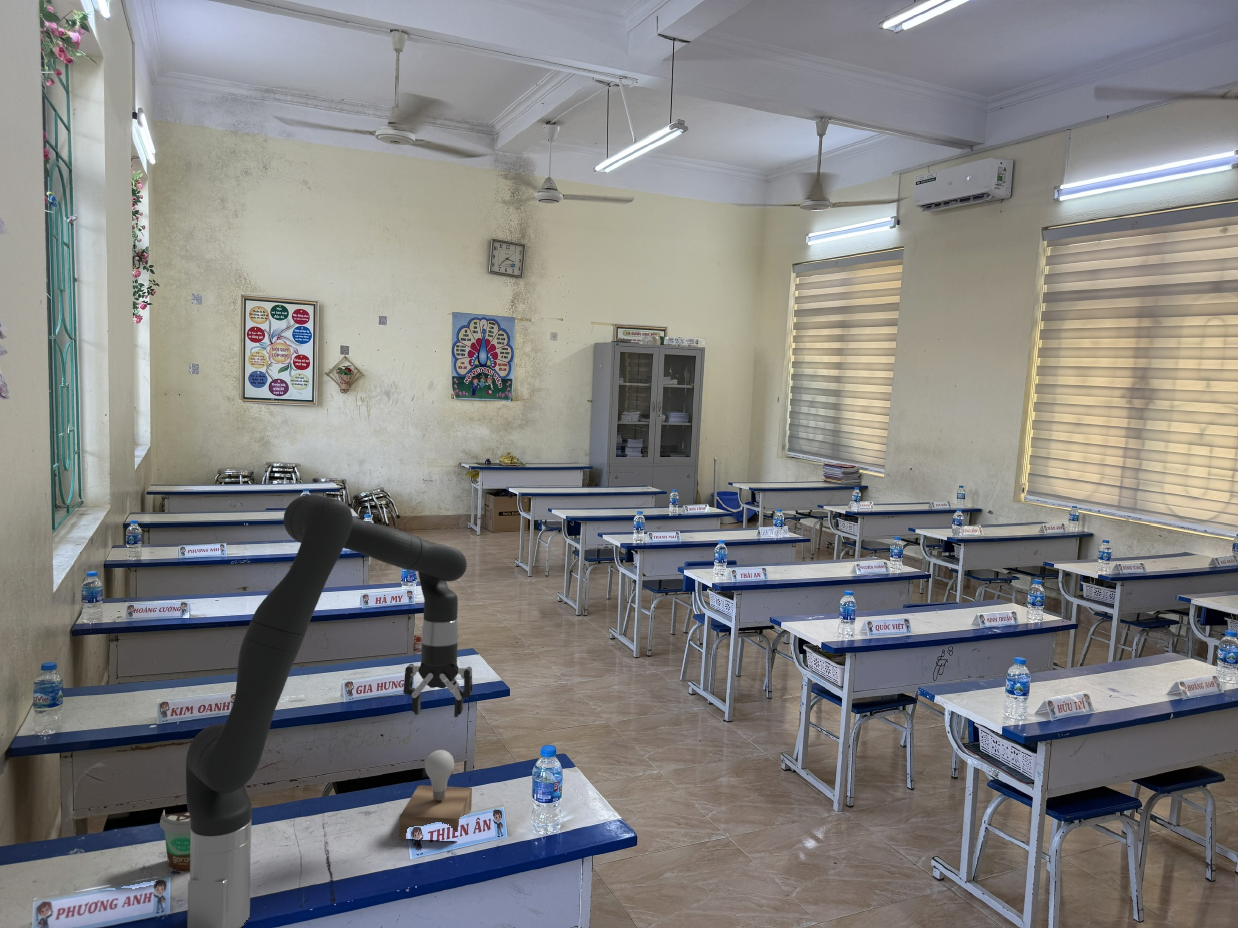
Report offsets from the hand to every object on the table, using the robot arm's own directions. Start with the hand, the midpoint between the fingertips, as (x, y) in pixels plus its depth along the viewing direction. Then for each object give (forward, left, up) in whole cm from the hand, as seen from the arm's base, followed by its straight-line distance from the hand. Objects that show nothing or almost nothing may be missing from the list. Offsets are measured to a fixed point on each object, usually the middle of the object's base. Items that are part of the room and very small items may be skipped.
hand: (437, 714), depth 168 cm
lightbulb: (+1, -1, -19) cm, 19 cm away
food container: (-20, +41, -24) cm, 52 cm away
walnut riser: (0, -1, -24) cm, 24 cm away
